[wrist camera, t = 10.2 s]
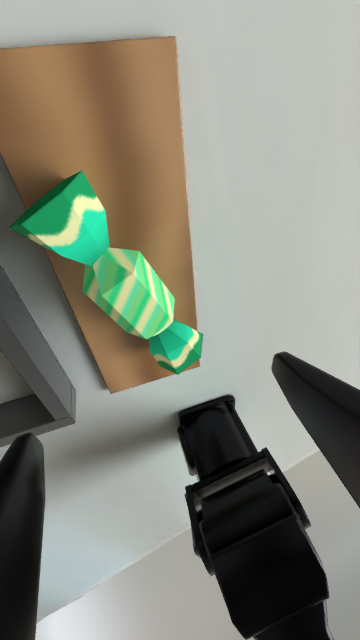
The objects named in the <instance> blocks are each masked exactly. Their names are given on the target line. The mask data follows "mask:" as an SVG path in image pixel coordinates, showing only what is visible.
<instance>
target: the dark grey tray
mask: <svg viewBox="0 0 360 640" xmlns="http://www.w3.org/2000/svg"><path fill="white" fill-rule="evenodd" d="M0 350H1V351H2V352H3V353H4V355H5V356H6V357H7V359H8V360H9V361H10V362H11V364H12V365H13V366H14V368H15V369H16V370H17V371H18V373H19V374H20V375H21V376H22V378H23V379H24V380H25V382H26V383H27V384H28V385H29V387H30V388H31V389H32V391H33V392H34V393H35V395H32V396H28V397H25V398H22V399H18V400H15V401H11V402H8V403H5V404H1V405H0V447H3V446H6V445H9V444H12V442H13V441H14V439H15V438H16V437H17V436H19V435H22V434H25V433H29V432H30V433H32V434H33V435H34V436H37V435H40V434H43V433H46V432H50V431H53V430H56V429H59V428H62V427H65V426H68V425H71V424H74V423H75V412H76V390H75V389H74V387H73V385H72V383H71V382H70V380H69V378H68V377H67V375H66V373H65V372H64V370H63V368H62V367H61V365H60V363H59V362H58V360H57V358H56V357H55V355H54V353H53V352H52V350H51V348H50V347H49V345H48V343H47V342H46V340H45V338H44V337H43V335H42V333H41V332H40V330H39V328H38V327H37V325H36V323H35V322H34V320H33V318H32V317H31V315H30V313H29V312H28V310H27V308H26V307H25V305H24V303H23V302H22V300H21V298H20V297H19V295H18V293H17V292H16V290H15V288H14V287H13V285H12V283H11V282H10V280H9V278H8V277H7V275H6V273H5V272H4V270H3V268H2V267H1V265H0Z"/></svg>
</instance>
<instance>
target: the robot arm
mask: <svg viewBox="0 0 360 640" xmlns="http://www.w3.org/2000/svg"><path fill="white" fill-rule="evenodd" d="M272 372H273V375H274V376H275V378H276V380H277V382H278V384H279V386H280V388H281V389H282V391H283V393H284V395H285V397H286V399H287V401H288V402H289V404H290V406H291V408H292V409H293V411H294V412H295V414H296V415H297V417H298V418H299V420H300V421H301V423H302V424H303V426H304V427H305V428H306V430H307V431H308V433H309V434H310V436H311V437H312V439H313V440H314V442H315V443H316V445H317V446H318V448H319V449H320V450H321V452H322V453H323V455H324V456H325V458H326V459H327V461H328V462H329V464H330V465H331V467H332V468H333V469H334V471H335V472H336V474H337V475H338V477H339V478H340V480H341V481H342V483H343V484H344V486H345V487H346V489H347V490H348V491H349V493H350V495H351V496H352V497H353V499H354V500H355V502H356V503H357V505H358V506H359V508H360V390H359V389H357V388H355V387H353V386H351V385H349V384H347V383H345V382H343V381H341V380H339V379H337V378H336V377H334V376H332V375H330V374H328V373H326V372H324V371H322V370H320V369H318V368H316V367H314V366H312V365H310V364H308V363H307V362H305V361H303V360H301V359H299V358H297V357H295V356H293V355H291V354H289V353H287V352H280V353H277V354H275V355H274V358H273V363H272ZM178 419H179V424H180V427H178V429H177V433H178V438H179V442H180V445H181V448H182V451H183V455H184V458H185V461H186V464H187V468H188V471H189V474H190V475H191V476H194V475H196V477H197V480H198V482H197V483H195V484H193V485H191V484H190V485H188V486H186V487H185V489H186V494H185V498H186V502H187V505H188V510H189V515H190V520H191V529H192V539H193V547H194V552H195V554H196V555H197V556H198V557H200V558H201V559H202V561H203V563H204V565H205V567H206V569H207V571H208V573H209V574H210V575H211V576H212V575H214V574H215V575H216V578H217V581H218V584H219V586H220V589H221V592H222V594H223V597H224V600H225V603H226V605H227V608H228V611H229V614H230V617H231V620H232V623H233V624H234V626H235V627H236V628H237V630H238V631H239V632H240V634H241V635H242V636H243V637H244V638H245V639H246V640H247V639H249V638H251V637H253V638H254V639H255V640H334V639H333V637H332V635H331V633H330V631H329V628H328V619H327V607H326V599H328V598H329V591H328V584H327V578H326V574H325V572H324V570H323V565H322V562H321V560H320V558H319V556H318V554H317V552H316V550H315V548H314V546H313V544H312V543H311V541H310V539H309V537H308V535H307V533H306V531H305V529H307V528H309V527H311V524H310V521H309V519H308V517H307V515H306V513H305V511H304V509H303V507H302V505H301V503H300V501H299V499H298V498H297V496H296V494H295V493H294V491H293V489H292V488H291V486H290V484H289V483H288V481H287V479H286V478H285V476H284V475H283V473H282V472H281V470H280V468H279V467H278V465H277V464H276V462H275V460H274V459H273V457H272V456H271V454H270V452H269V451H268V449H267V448H264V449H262V451H260V452H258V451H257V449H256V447H255V445H254V444H253V442H252V440H251V438H250V436H249V434H248V432H247V431H246V429H245V427H244V425H243V423H242V421H241V419H240V418H239V416H238V414H237V412H236V410H235V398H234V396H232V395H231V396H227V397H224V398H221V399H218V400H215V401H213V402H210V403H207V404H204V405H201V406H198V407H195V408H192V409H189V410H186V411H183V412H180V413H179V414H178ZM267 472H270V474H271V475H269V476H268V475H267ZM44 510H45V473H44V449H43V445H42V443H41V442H40V441H39V440H38V439H37V438H36V437H35V436H34V435H33V434H32V433H30V432H29V433H25V434H22V435H19V436H17V437H16V438H15V439H14V441H13V442H12V444H11V446H10V447H9V449H8V450H7V452H6V453H5V455H4V457H3V458H2V460H1V461H0V640H35V633H36V620H37V606H38V592H39V578H40V565H41V551H42V537H43V523H44Z"/></svg>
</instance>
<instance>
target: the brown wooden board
mask: <svg viewBox="0 0 360 640" xmlns="http://www.w3.org/2000/svg"><path fill="white" fill-rule="evenodd" d="M0 154H1V156H2V158H3V160H4V163H5V165H6V167H7V169H8V171H9V173H10V176H11V178H12V180H13V182H14V184H15V187H16V189H17V191H18V193H19V195H20V197H21V200H22V202H23V204H24V206H25V208H26V210H27V209H28V208H29V207H31V206H32V205H33V204H34V203H35V202H36V201H38V200H39V199H40V198H42V197H43V196H44V195H45V194H47V193H48V192H49V191H50V190H52V189H53V188H54V187H55V186H57V185H58V184H59V183H61V182H62V181H63V180H64V179H66V178H68V177H70V176H72V175H74V174H76V173H78V172H80V171H83V173H84V174H85V176H86V178H87V180H88V181H89V183H90V185H91V187H92V188H93V190H94V192H95V194H96V195H97V197H98V199H99V201H100V202H101V204H102V206H103V208H104V209H105V212H106V220H107V229H108V237H109V245H110V248H118V249H127V250H136V251H140V252H141V254H142V255H143V257H144V258H145V259H146V261H147V262H148V263H149V265H150V266H151V267H152V269H153V270H154V271H155V273H156V274H157V275H158V277H159V278H160V279H161V281H162V282H163V283H164V285H165V286H166V287H167V289H168V290H169V291H170V293H171V294H172V295H173V297H174V298H175V304H174V316H173V318H174V319H176V320H177V321H179V322H181V323H183V324H185V325H187V326H189V327H191V328H192V329H194V330H196V331H197V320H196V306H195V292H194V278H193V265H192V251H191V237H190V224H189V210H188V196H187V182H186V169H185V155H184V141H183V127H182V114H181V100H180V86H179V72H178V59H177V45H176V37H175V36H168V37H155V38H141V39H127V40H113V41H99V42H85V43H71V44H57V45H43V46H29V47H15V48H1V49H0ZM43 247H44V246H43ZM44 250H45V252H46V254H47V256H48V258H49V260H50V263H51V265H52V267H53V269H54V271H55V273H56V276H57V278H58V280H59V282H60V284H61V287H62V289H63V291H64V293H65V295H66V297H67V300H68V302H69V304H70V306H71V308H72V310H73V313H74V315H75V317H76V319H77V321H78V324H79V326H80V328H81V330H82V332H83V334H84V337H85V339H86V341H87V343H88V345H89V347H90V350H91V352H92V354H93V356H94V358H95V360H96V363H97V365H98V367H99V369H100V371H101V374H102V376H103V378H104V380H105V382H106V384H107V387H108V389H109V391H110V393H111V394H112V393H116V392H119V391H122V390H125V389H129V388H132V387H135V386H138V385H141V384H145V383H148V382H151V381H154V380H158V379H161V378H164V377H167V376H171V375H174V374H175V373H173V372H171V371H169V370H167V369H164V368H162V367H160V365H159V364H158V362H157V361H156V360H155V358H154V357H153V355H152V354H151V353H150V343H149V338H148V339H144V338H142V337H139V336H136V335H133V334H131V333H128V332H126V331H125V330H124V329H123V328H121V327H120V326H119V325H118V324H117V323H116V322H115V321H114V320H113V319H112V318H111V317H110V316H109V315H107V314H106V313H105V312H104V311H103V310H102V309H101V308H100V307H99V306H98V305H97V304H96V303H95V302H94V301H92V300H91V299H90V298H89V297H88V296H87V295H86V294H85V293H84V292H83V291H82V290H83V280H84V269H85V264H83V263H80V262H78V261H75V260H72V259H69V258H66V257H63V256H61V255H59V254H57V253H55V252H53V251H51V250H49V249H48V248H46V247H44ZM199 366H200V361H199V359H198V360H197V361H195V362H194V363H193V364H191V365H190V366H189V367H187V368H186V369H185V370H184V371H187V370H190V369H193V368H196V367H199ZM182 372H183V371H182Z"/></svg>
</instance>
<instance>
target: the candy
mask: <svg viewBox="0 0 360 640" xmlns="http://www.w3.org/2000/svg"><path fill="white" fill-rule="evenodd" d="M9 228H10V229H12V230H14V231H16V232H18V233H20V234H21V235H23V236H25V237H27V238H29V239H31V240H33V241H35V242H36V243H38V244H40V245H42V246H44V247H46V248H48V249H49V250H51V251H53V252H55V253H57V254H59V255H61V256H63V257H66V258H69V259H72V260H75V261H78V262H80V263H83V264H85V269H84V280H83V290H82V291H83V292H84V293H85V294H86V295H87V296H88V297H89V298H90V299H91V300H92V301H94V302H95V303H96V304H97V305H98V306H99V307H100V308H101V309H102V310H103V311H104V312H105V313H106V314H107V315H109V316H110V317H111V318H112V319H113V320H114V321H115V322H116V323H117V324H118V325H119V326H120V327H121V328H123V329H124V330H125V331H126V332H128V333H131V334H133V335H136V336H139V337H142V338H144V339H148V338H149V343H150V353H151V354H152V355H153V357H154V358H155V360H156V361H157V362H158V364H159V365H160V367H162V368H164V369H167V370H169V371H171V372H173V373H175V374H177V375H178V374H180V373H181V372H182V371H184V370H185V369H186V368H187V367H189V366H190V365H191V364H193V363H194V362H195V361H197V360H198V359H199V358H201V350H202V340H203V334H202V333H200V332H198V331H196V330H194V329H192V328H191V327H189V326H187V325H185V324H183V323H181V322H179V321H177V320H176V319H174V318H173V316H174V304H175V298H174V297H173V295H172V294H171V293H170V291H169V290H168V289H167V287H166V286H165V285H164V283H163V282H162V281H161V279H160V278H159V277H158V275H157V274H156V273H155V271H154V270H153V269H152V267H151V266H150V265H149V263H148V262H147V261H146V259H145V258H144V257H143V255H142V254H141V252H140V251H136V250H127V249H118V248H110V245H109V237H108V229H107V220H106V212H105V209H104V208H103V206H102V204H101V202H100V201H99V199H98V197H97V195H96V194H95V192H94V190H93V188H92V187H91V185H90V183H89V181H88V180H87V178H86V176H85V174H84V173H83V171H80V172H78V173H76V174H74V175H72V176H70V177H68V178H66V179H64V180H63V181H62V182H61V183H59V184H58V185H57V186H55V187H54V188H53V189H52V190H50V191H49V192H48V193H47V194H45V195H44V196H43V197H42V198H40V199H39V200H38V201H36V202H35V203H34V204H33V205H32V206H31V207H29V208H28V209H27V210H26V211H25V212H24V213H23V214H22V215H21V216H20V217H19V218H18V219H17V220H16V221H15V222H14V223H13V224H12V225H11V226H10V227H9Z"/></svg>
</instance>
